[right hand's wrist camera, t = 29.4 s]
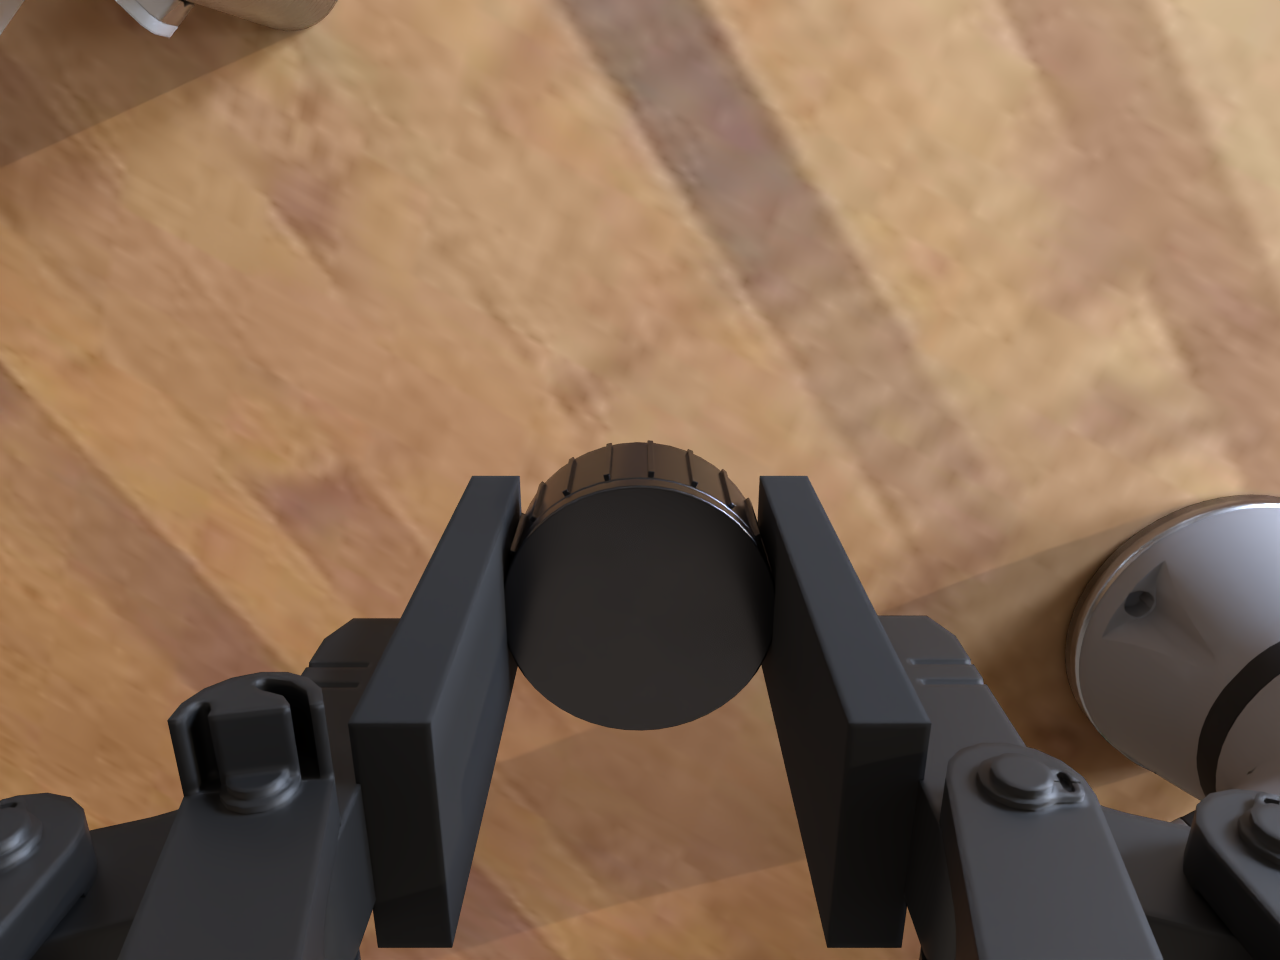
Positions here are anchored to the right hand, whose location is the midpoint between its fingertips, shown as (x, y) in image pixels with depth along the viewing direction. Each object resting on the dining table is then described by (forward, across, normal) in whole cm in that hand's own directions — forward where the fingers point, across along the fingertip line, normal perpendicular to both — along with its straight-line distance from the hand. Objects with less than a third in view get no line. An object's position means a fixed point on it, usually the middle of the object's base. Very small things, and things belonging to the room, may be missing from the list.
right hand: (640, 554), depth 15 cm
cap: (-2, 0, 0) cm, 2 cm away
